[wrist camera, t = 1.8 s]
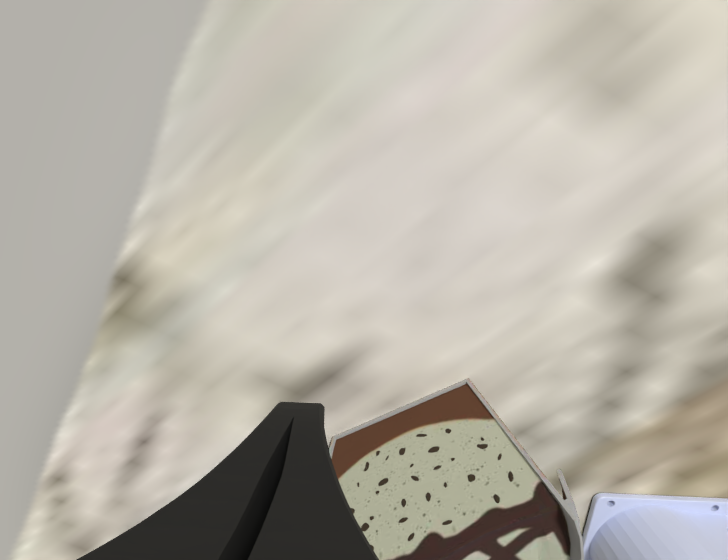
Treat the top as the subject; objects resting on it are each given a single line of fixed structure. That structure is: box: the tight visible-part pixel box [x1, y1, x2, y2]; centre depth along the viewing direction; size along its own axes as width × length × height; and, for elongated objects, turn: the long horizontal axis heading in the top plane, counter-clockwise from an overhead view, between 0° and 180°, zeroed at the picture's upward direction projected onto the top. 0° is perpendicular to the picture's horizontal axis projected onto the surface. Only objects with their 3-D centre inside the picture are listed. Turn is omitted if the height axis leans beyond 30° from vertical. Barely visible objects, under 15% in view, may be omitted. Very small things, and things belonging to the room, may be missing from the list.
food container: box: [329, 378, 584, 560], centre depth 19 cm, size 12×6×10 cm, turn 117°
